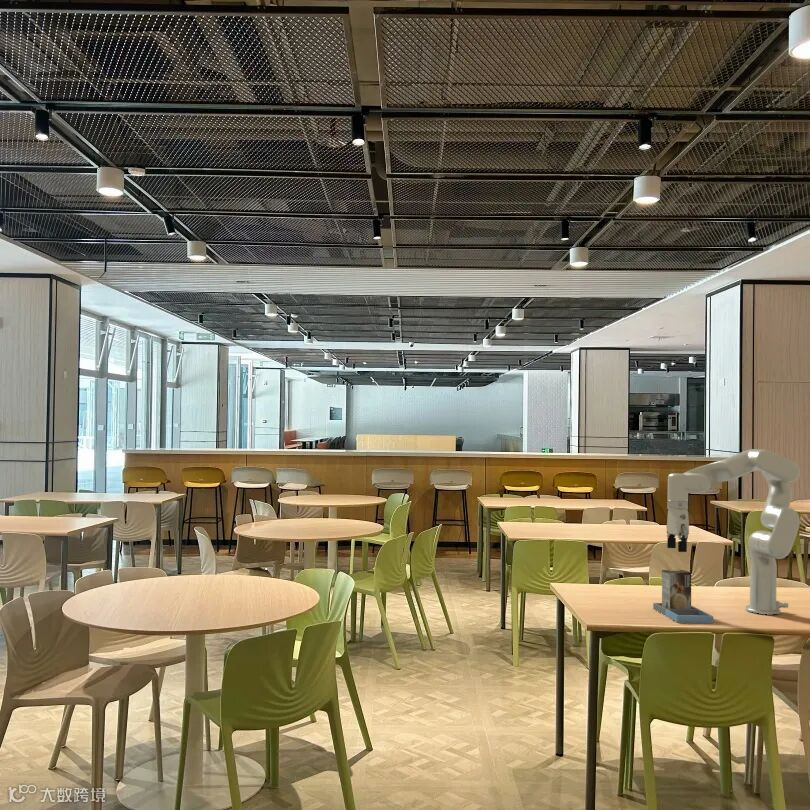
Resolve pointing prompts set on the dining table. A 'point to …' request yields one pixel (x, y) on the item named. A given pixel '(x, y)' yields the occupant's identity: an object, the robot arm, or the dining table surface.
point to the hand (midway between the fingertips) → (676, 549)
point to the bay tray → (684, 614)
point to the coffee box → (676, 589)
